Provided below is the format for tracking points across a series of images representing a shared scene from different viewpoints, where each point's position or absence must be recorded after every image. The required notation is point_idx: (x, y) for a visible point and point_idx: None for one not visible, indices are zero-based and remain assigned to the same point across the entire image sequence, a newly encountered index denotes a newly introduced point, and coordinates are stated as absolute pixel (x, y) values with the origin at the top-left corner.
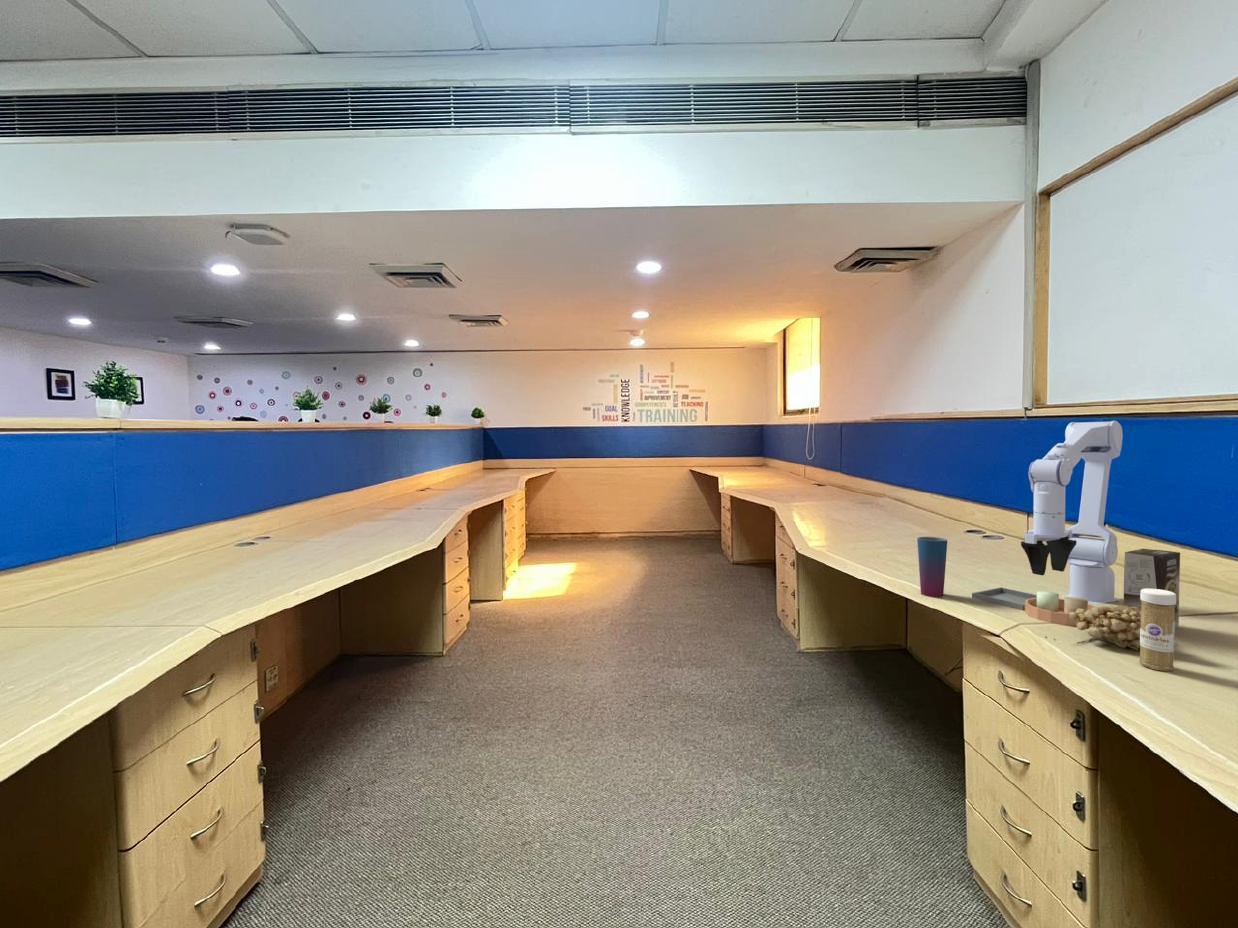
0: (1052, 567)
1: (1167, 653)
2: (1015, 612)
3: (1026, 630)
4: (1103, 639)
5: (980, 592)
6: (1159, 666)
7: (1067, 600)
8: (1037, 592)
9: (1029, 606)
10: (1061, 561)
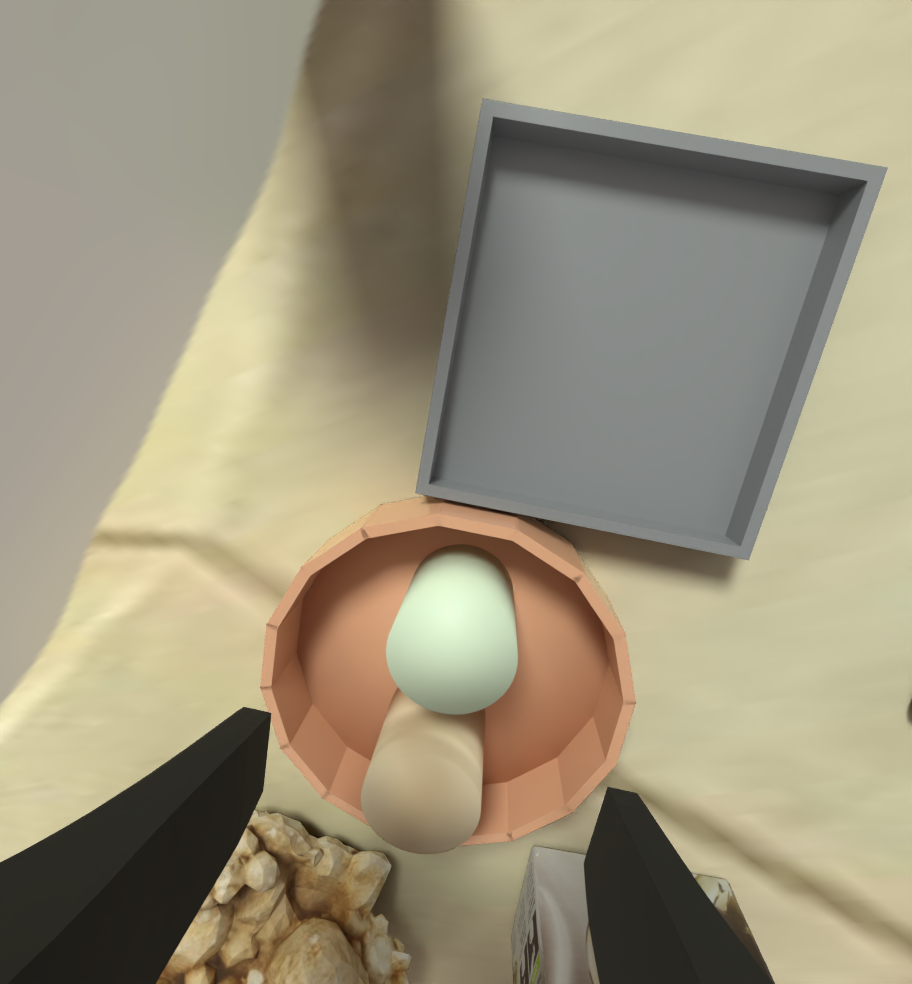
0: (615, 809)
1: None
2: (396, 452)
3: (118, 596)
4: None
5: (570, 132)
6: None
7: (367, 772)
8: (428, 602)
9: (300, 570)
10: (618, 982)
